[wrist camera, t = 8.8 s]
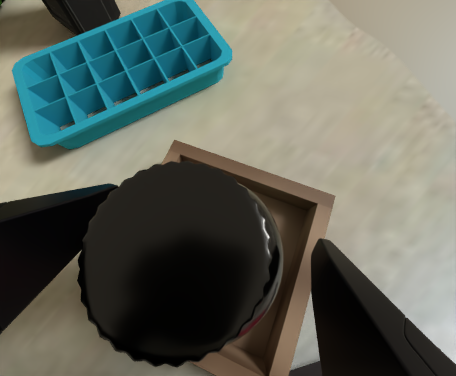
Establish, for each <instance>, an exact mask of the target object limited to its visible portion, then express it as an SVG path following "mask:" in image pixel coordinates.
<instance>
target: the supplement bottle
mask: <svg viewBox="0 0 456 376" xmlns="http://www.w3.org/2000/svg"><path fill="white" fill-rule="evenodd" d="M283 261H284V258H283V246H282V240H281V236H280V232H279V229H278V226H277V224H276V222H275V220H274V218H273V216H272V214H271V212H270V211H269V210H268V208H267V207H266V205H265V204H264V203H263V202H262V201H261V199H260V198H259V197H258V196H257V195H256V194H254V193H253V192H252V191H251V190H249V189H248V188H246V187H245V186H243V185H241V184H240V183H238V182H237V180H236V179H235V178H234V177H232V176H229V175H225V174H224V172H223V171H222V170H221V169H218V168H210V167H209V166H208V165H206V164H205V163H199V164H194V163H192V162H190V161H184V162H180V163H178V162H174V161H170V162H167V163H165V164H163V165H162V164H155V165H153V166H152V167H150V168H149V169H148V170H141V171H138V172H137V173H136V174H135V175H134V176H133V177H132V178H128V179H126V180H124V181H123V182H122V183H121V185H120V186H119V187H118V188H116V189H114V190H113V191H111V192H110V193H109V195H108V197H107V199H106V200H105V201H104V202H103V203H101V204H100V205H99V206H98V209H97V212H96V215H95V216H94V217H93V218H92V219H91V220H90V221H89V223H88V229H87V233H86V234H85V236H84V237H83V239H82V251H81V253H80V255H79V258H78V265H79V268H80V271H79V275H78V279H77V281H78V284H79V285H80V287H81V302H82V303H83V305H84V306H85V307H86V308H87V315H88V320H89V321H90V322H91V323H93V324H94V325H95V326H96V327H97V330H98V333H99V336H100V337H101V338H103V339H105V340H108V341H110V343H111V345H112V347H113V348H114V350H115V351H117V352H124V353H126V354H127V355H128V356H129V357H130V358H131V359H132V360H133V361H146V362H148V363H149V364H151V365H153V366H154V367H157V366H161V365H163V364H168V365H171V366H174V367H179V366H181V365H183V364H184V363H185V362H187V361H191V362H200V361H201V360H202V359H204V358H205V356H206V355H207V354H209V353H217V352H220V351H221V350H222V348H223V347H224V346H226V345H228V344H230V343H233V342H234V341H236V340H238V339H240V338H241V337H243V336H244V335H246V334H247V333H248V332H250V331H251V330H252V329H253V328H254V327H255V326H256V325H257V324H258V323H259V322H260V321H261V320H262V318H263V317H264V316H265V314H266V313H267V312H268V310H269V308H270V307H271V305H272V303H273V301H274V299H275V297H276V295H277V292H278V289H279V286H280V283H281V278H282V273H283Z"/></svg>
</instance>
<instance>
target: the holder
mask: <svg viewBox="0 0 456 376" xmlns="http://www.w3.org/2000/svg"><path fill="white" fill-rule="evenodd" d="M170 161H174V162H178V163H180V162H184V161H190V162H192V163H194V164H199V163H205V164H206V165H208V166H209V167H210V168H218V169H221V170H222V171H223V172H224V174H225V175H229V176H232V177H234V178H235V179H236V180H237V182H238V183H240V184H241V185H243V186H245V187H246V188H248V189H249V190H251V191H252V192H253V193H254V194H256V195H257V196H258V197H259V198H260V199H261V201H262V202H263V203H264V204H265V205H266V207H267V208H268V210H269V211H270V212H271V214H272V216H273V218H274V220H275V222H276V224H277V226H278V229H279V232H280V236H281V240H282V246H283V258H284V261H283V273H282V278H281V283H280V286H279V289H278V292H277V295H276V297H275V299H274V301H273V303H272V305H271V307H270V308H269V310H268V312H267V313H266V314H265V316H264V317H263V318H262V320H261V321H260V322H259V323H258V324H257V325H256V326H255V327H254V328H253V329H252V330H251V331H250V332H248V333H247V334H246V335H244V336H243V337H241V338H240V339H238V340H236V341H234V342H233V343H230V344H228V345H226V346H224V347H223V348H222V350H221V351H220V352H217V353H209V354H207V355H206V356H205V358H204V359H202V360H201V361H200V362H191V361H189V362H191V363H193V364H195V365H197V366H199V367H201V368H203V369H204V370H206V371H208V372H210V373H212V374H214V375H216V376H289V372H290V368H291V364H292V360H293V357H294V353H295V349H296V345H297V341H298V338H299V334H300V330H301V326H302V322H303V318H304V315H305V311H306V307H307V303H308V299H309V295H310V292H311V253H312V251H313V249H314V247H315V245H316V242H317V240H318V239H319V238H323V239H324V238H325V234H326V230H327V226H328V223H329V219H330V215H331V211H332V207H333V203H334V200H335V196H334V195H331V194H328V193H326V192H323V191H320V190H317V189H314V188H311V187H308V186H305V185H303V184H300V183H297V182H294V181H291V180H288V179H285V178H283V177H280V176H277V175H274V174H271V173H268V172H265V171H262V170H260V169H257V168H254V167H251V166H248V165H245V164H242V163H239V162H237V161H234V160H231V159H228V158H225V157H222V156H219V155H217V154H214V153H211V152H208V151H205V150H202V149H199V148H196V147H194V146H191V145H188V144H185V143H182V142H179V141H176V140H174V142H173V144H172V145H171V147H170V149H169V151H168V153H167V155H166V157H165V158H164V160H163V162H162V165H163V164H165V163H167V162H170Z"/></svg>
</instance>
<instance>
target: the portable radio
mask: <svg viewBox="0 0 456 376" xmlns="http://www.w3.org/2000/svg"><path fill="white" fill-rule="evenodd" d="M42 1H43V3H44V4H45V6H46V7H47V9H48V10H49V12H50V13H51V15H52V16H53V17H54V18H55V19H57V20H58V21H59V22H60V23H62V24H63V25H64V26H65V27H67V28H68V29H69V30H71V31H72V32H74V33H75V34H76V35H80V34H83V33H85V32H88V31H90V30H92V29H95V28H97V27H100V26H102V25H105V24H107V23H110V22H112V21H115V20H117V19H118V17H119V16H120V14H121V13H120V11H119V9H118V7H117V5H116V2H115V0H42Z"/></svg>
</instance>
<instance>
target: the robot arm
mask: <svg viewBox="0 0 456 376" xmlns="http://www.w3.org/2000/svg"><path fill="white" fill-rule="evenodd" d="M116 188H118V186H117V185H114V184H103V185H98V186H92V187H87V188H81V189H76V190H70V191H65V192H59V193H54V194H48V195H43V196H37V197H32V198H26V199H21V200H15V201H10V202H4V203H0V334H1V333H2V331H4V330H5V329H6V328H7V327H8V326H9V325H10V324H11V323H12V321H13V320H14V319H15V318H16V317H17V316H18V315H19V314H20V313H21V312H22V311H23V310H24V309H25V308H26V307H27V306H28V305H29V304H30V303H31V302H32V301H33V300H34V299H35V298H36V297H37V295H38V294H39V293H40V292H41V291H42V290H43V289H44V288H45V287H46V286H47V285H48V284H49V283H50V282H51V281H52V280H53V279H54V278H55V277H56V276H57V275H58V274H59V273H60V272H61V271H62V269H63V268H64V267H65V266H66V265H67V264H68V263H69V262H70V261H71V260H72V259H73V258H74V257H75V256H76V255H77V254H78V253H79V252H80V251H81V250H82V239H83V237H84V236H85V234H86V233H87V229H88V223H89V221H90V220H91V219H92V218H93V217H94V216H95V215H96V212H97V209H98V206H99V205H100V204H101V203H103V202H104V201H105V200H106V199H107V197H108V195H109V193H110V192H111V191H113V190H114V189H116ZM311 294H312V303H313V310H314V318H315V325H316V333H317V340H318V348H319V355H320V363H321V370H322V376H456V364H455V363H454V362H453V361H452V360H450V359H449V358H448V357H447V356H446V355H445V354H444V353H443V352H442V351H441V350H440V349H439V348H438V347H436V346H435V345H434V344H433V343H432V342H431V341H430V340H429V339H428V338H427V337H426V336H425V335H424V334H423V333H422V332H421V331H420V330H419V329H418V328H417V327H416V326H415V325H414V324H413V323H412V322H411V321H410V320H409V319H408V318H405V315H404V314H403V313H402V312H401V311H400V310H399V309H398V308H397V307H396V306H395V305H394V304H393V303H392V302H391V301H390V300H389V299H388V298H387V297H386V296H385V295H384V294H383V293H382V292H381V291H380V290H379V289H378V288H377V287H376V286H375V285H374V284H373V283H372V282H371V281H370V280H369V279H368V278H367V277H366V276H365V275H364V274H363V273H362V272H361V271H360V270H359V269H358V268H357V267H356V266H355V265H354V264H353V263H352V262H351V261H350V260H349V259H348V258H347V257H346V256H345V255H344V254H343V253H342V252H341V251H340V250H339V249H338V248H337V247H336V246H335V245H334V244H333V243H332V242H331V241H330V240H327V239H323V238H319V239H318V240H317V242H316V245H315V247H314V249H313V251H312V253H311Z"/></svg>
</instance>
